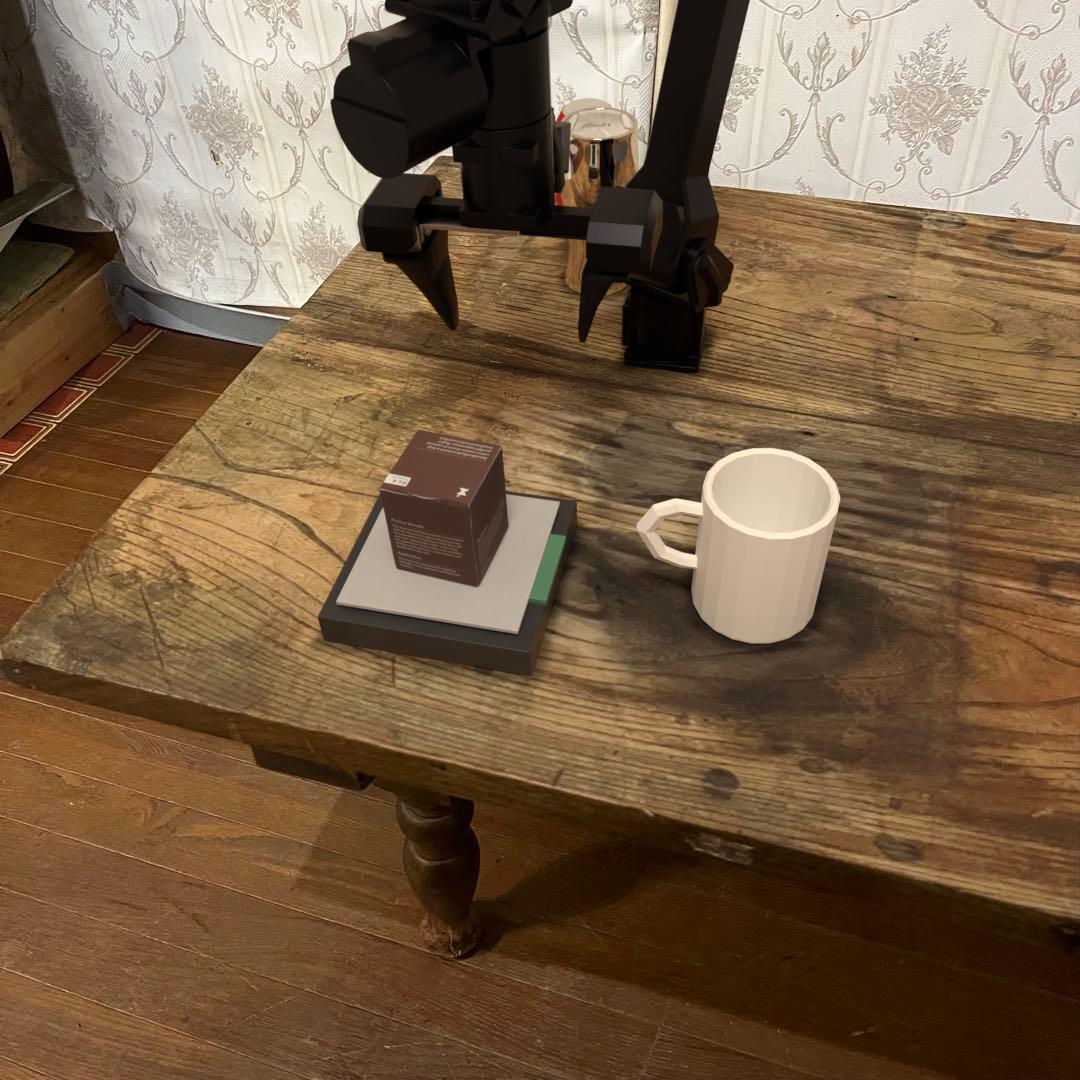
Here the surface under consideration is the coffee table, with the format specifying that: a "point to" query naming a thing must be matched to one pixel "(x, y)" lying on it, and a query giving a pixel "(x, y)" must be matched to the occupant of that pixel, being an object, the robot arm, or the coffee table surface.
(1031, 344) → the coffee table surface
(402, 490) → the box
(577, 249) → the beer glass
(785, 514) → the mug
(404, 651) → the scale
